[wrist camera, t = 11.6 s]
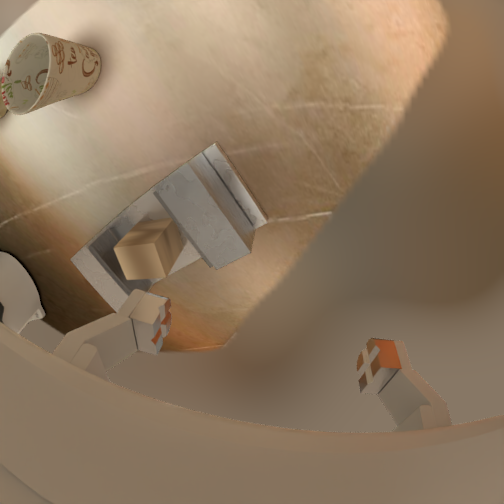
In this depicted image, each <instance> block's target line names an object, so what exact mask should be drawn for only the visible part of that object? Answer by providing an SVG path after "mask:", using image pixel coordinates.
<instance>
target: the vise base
mask: <svg viewBox="0 0 504 504" xmlns="http://www.w3.org/2000/svg"><path fill="white" fill-rule="evenodd" d="M202 153H203V155H204V156H205V158H206V159H207V161H208V162H209V164H210V165H211V166H212V168H213V169H214V171H215V172H216V174H217V175H218V177H219V178H220V179H221V181H222V182H223V184H224V185H225V187H226V188H227V190H228V191H229V193H230V194H231V195H232V197H233V198H234V200H235V201H236V203H237V204H238V206H239V207H240V209H241V210H242V212H243V213H244V214H245V216H246V217H247V219H248V220H249V222H250V223H251V225H252V226H253V228H254V229H256V228H258V227H260V226H262V225H264V224H266V223H267V222H268V218H267V216H266V214H265V213H264V211H263V210H262V208H261V207H260V205H259V204H258V202H257V201H256V199H255V198H254V196H253V195H252V193H251V192H250V190H249V189H248V187H247V185H246V184H245V182H244V181H243V179H242V178H241V176H240V175H239V173H238V172H237V170H236V169H235V168H234V166H233V165H232V163H231V162H230V160H229V159H228V157H227V156H226V154H225V153H224V151H223V150H222V148H221V147H220V145H219V144H218V142H216V143H214V144H213V145H211V146H209V147H208V148H206V149H205V150H204V151H202ZM190 160H191V159H190ZM176 170H177V169H176ZM160 182H161V181H160ZM156 185H157V184H156ZM154 191H156V190H155V189H154V187H152V188H151V189H150V190H149V191H147V192H146V193H145V194H143V195H142V196H141V197H140V198H138V199H137V200H136V201H135V202H134V203H132V204H131V205H130V206H129V207H127V208H126V209H125V210H124V211H123V212H121V213H120V214H119V215H118V216H117V217H116V218H114V219H113V220H112V221H111V222H110V223H109V224H108V225H106V226H105V227H104V228H103V229H102V230H101V231H100V232H99V233H97V234H96V235H95V236H94V237H93V238H92V239H91V240H90V241H89V242H88V243H87V244H85V245H84V246H83V247H82V248H81V249H80V250H79V251H78V252H77V253H76V254H75V255H74V256H73V257H72V258H71V259H70V260H71V261H72V262H73V264H74V265H75V266H76V267H77V269H78V270H79V271H80V272H81V273H82V274H83V276H84V277H85V278H86V279H87V280H88V282H89V283H90V284H91V285H92V286H93V287H94V288H95V289H96V291H97V292H98V293H99V294H100V295H101V296H102V297H103V298H104V299H105V301H106V302H107V303H108V304H109V305H110V306H111V307H112V308H113V309H114V310H115V311H116V312H118V311H119V309H120V308H121V306H122V305H123V304H124V302H125V301H126V300H127V298H128V297H129V295H130V294H131V293H132V291H133V290H135V289H139V290H142V291H145V292H149V291H150V289H151V287H152V286H153V284H154V283H156V282H158V281H159V280H161V279H163V278H154V279H135V280H127V279H126V277H125V275H124V272H123V270H122V268H121V265H120V263H119V261H118V258H117V256H116V253H115V251H114V247H115V246H116V244H117V243H118V242H119V241H120V240H121V239H122V238H123V237H124V236H125V235H126V234H127V233H128V232H129V231H130V230H131V229H132V228H133V227H134V226H135V225H136V224H137V223H139V222H145V221H152V220H158V219H165V218H171V217H170V216H169V214H168V213H167V212H166V210H165V209H164V208H163V206H162V205H161V204H160V202H159V201H158V199H157V198H156V197H155V195H154V194H153V192H154ZM177 227H178V226H177ZM178 231H179V234H180V238H181V241H182V244H183V250H182V252H181V253H180V255H179V257H178V258H177V260H176V262H175V264H174V265H173V267H172V269H171V271H170V272H169V274H168V276H169V275H170V274H172V273H174V272H176V271H178V270H180V269H181V268H183V267H185V266H187V265H189V264H191V263H192V262H194V261H196V260H198V259H200V258H202V257H201V256H200V254H199V253H198V252H197V251H196V249H195V248H194V247H193V245H192V244H191V243H190V242H189V240H188V239H187V238H186V236H185V235H184V234H183V233H182V231H181V230H180V229H179V227H178Z"/></svg>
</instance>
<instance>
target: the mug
mask: <svg viewBox="0 0 504 504" xmlns="http://www.w3.org/2000/svg"><path fill="white" fill-rule="evenodd" d="M100 69H101V60H100V57H99V55H98V53H97V52H96V51H95V50H93V49H91V48H89V47H86V46H83V45H80V44H77V43H74V42H71V41H67V40H64V39H61V38H57V37H54V36H50V35H46V34H42V33H33V34H30V35H28V36H26V37H24V38H23V39H22V40H21V41H20V42H19V43H18V44H17V45H16V46H15V47H14V49H13V50H12V52H11V54H10V55H9V57H8V60H7V62H6V65H5V68H4V71H3V76H2V97H3V101H4V103H5V106H6V107H7V109H8V110H9V111H10V112H11V113H13V114H15V115H23V114H26V113H29V112H32V111H34V110H37V109H39V108H42V107H44V106H47V105H49V104H52V103H55V102H58V101H61V100H64V99H67V98H70V97H73V96H76V95H79V94H82V93H84V92H86V91H88V90H89V89H90V88H91V87H92V86H93V85H94V84H95V82H96V81H97V79H98V76H99V74H100Z"/></svg>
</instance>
